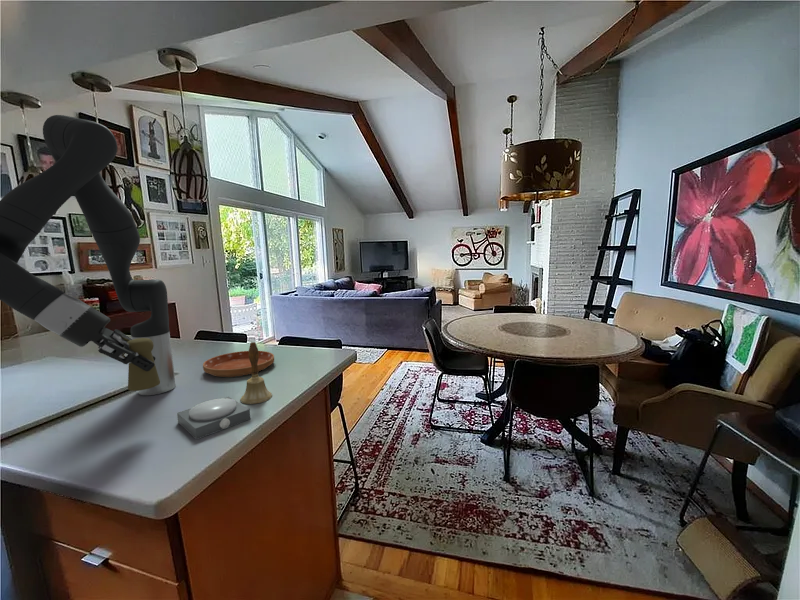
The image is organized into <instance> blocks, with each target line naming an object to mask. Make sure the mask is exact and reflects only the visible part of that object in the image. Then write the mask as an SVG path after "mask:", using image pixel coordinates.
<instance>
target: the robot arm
mask: <svg viewBox="0 0 800 600" xmlns="http://www.w3.org/2000/svg"><path fill="white" fill-rule="evenodd" d="M42 136H43V140H44V142H45V145H46V147H47V150H49V153H50V155H51V156H52V158H53V159H54V161H55V162H54V164H52V165H51V166H50V167H48V168H46V170H44V171H43V172H41V173H39V174H37V175H36V176H33V177H32V178H30V179H28V180H26V181H24V182H22V183H20V184H19V185H17V186H16V187H14V188H12V189H11V190H9V191H8V193H6V194H5V195H4V196H3V197H2V198H1V199H0V301H1V302H3V303H4V304H5V305H7V306H8V307H10V308H11V309H12V310H14V311H16V312H18V313H20V314H22V315H24V316H26V317H28V318H29V319H30V320H32V321H35V322H36V323H38V324H39V325H41V326H42V327H43V328H45V329H46V330H48V331H50V332H52V333H54V334H56V335H57V336H60V337H61V338H63V339H65V340H67V341H69V342H71V343H72V344H74V345H76V346H78V347H80V348H83V347H85V346H87V345H88V343H90V342H93V343H94V344H95V345H97V346H98V347H97V348H98V350H97V351H98V353H100V354H102V355H105V356H107V357H109V358H111V359H113V360H116V361H118V362H120V363H122V364H123V365H129V364H131V363H132V364H134V365H136V366H138V367H139V368H141V369H143V370H145V371H150V370H151V369H152V368H153V367H154V365H155V366H156V369H157V372H158V376H159V379H160V384H159V385H157V386H155V387H152V388H149V389H145V390H139V391H137V392H138V395H140V396H153V395H159V394H164V393H166V392H170V391H172V390H173V389H175V388H176V375H175V367H174V360H173V351H172V343H171V335H170V334H171V332H170V317H169V307H168V306H169V304H168V303H169V302H168V301H169V300H168V290H167V286H166V284H165V283H164V281H163V280H162V279H133V277H132V275H131V270H130V267H131V264H132V261H133V260H134V257H135V256H136V253H137V251H138V248H139V246H140V242H141V236H140V233H139V229H138V227H137V225H136V224H137V223H136V221H135V220H134V219H135V218H134V217H133V214H132V212H130V210H129V209H128V207H127V206H126V205H125V204H124V202H123V201H122V200H121V199H120V198H119V197H118V195H117V194H116V193H115V192H114V191H113V190H112V189H111V188H110V186H109V185H108V184H107V182H106V181H105V180H104V178H103V176H102V174H101V172H102V171H103V170H104V169H105V168H107V167H108V166H109V165H110V164H111V163H112V162H113V160H114V159H115V157H116V156H117V153H118V143H117V140H116V137H115V135H114V134H113V132H112V131H111V130H110V129H109V128H108V127H107V126H105V125H103V124H101V123H98V122H96V121H92V120H88V119H85V118H84V119H83V118H80V117H79V118H78V117H74V116H70V115H69V116H68V115H64V114H63V115H62V114H54V115H50V116H49V117H47V118H46V120H45V121H44V123H43V126H42ZM72 196H74V198H75V199H76V201H77V204H78V206H79V207H80V210H81V213H82V214H83V217H84V219H85V221H86V224H87V226H88V229H89V230H90V233H91V235H92V237H93V239H94V242H95V244H96V245H97V247H98V249H99V251H100V253H101V256H102V258H103V260H104V262H105V265H106V268H107V270H108V272H109V275H110V279H111V281H112V285H113V287H114V290H115V294H116V296H117V299H118V302H119V304H120V305H121V307H122V308H123V310H125V311H126V312H128V313H129V312H130V313H134V312H135V313H138V312H139V313H140V312H141V313H142V312H150V313H151V314H150V317H148V319H146V320H144V321H142V322H138V323H135V324H134V325H132V326H131V327H130V336H128V335H127V334H125V333H123V332H122V331H121V330H120V329H114V330H111V329H110V328H107V327H106V326H107V325H109V323H110V322H111V318H110V317H109V316H107V315H105V313H102V312H101V311H98V310H97V309H95V308H94V307H92V306H90V305H89V304H88V303H85V302H84V301H83V300H80V299H79V298H76V297H75V296H72V295H70V294H68V293H67V292H65V291H63V290H61V289H59V288H57V286H56V285H53V284H52V283H49V282H48V281H46V280H45V279H44V280H43V279H42V278H40V277H38V276H36V275H34V274H32V273H31V272H30V271H29V270H27V269H25V268H24V267H23V266H22V265H20V264H18V262H19V261H20V259H21V257H22V256H23V255H24V253H25V251H26V249H27V247H28V246H29V244H31V243H32V242H33V240H34V239H35V238H36V237H38V235H39V234H40V233H41V231H42V230H43V229H44V227H45V226H46V225H47V223H48V222H49V221H50V219H52V217H53V216H54V215H55V214H56V213H57V211H59V209H60V208H61V207H62V206H63V205H64V204H65V203H66V202H67V201H68V200H69V199H70V198H71V197H72ZM137 338H149V339H151V340H152V341H153V345H154V346H153V350H152V351H151V352H152V356H153V359H154V362H155V363H154V362H152V361H151V360H149V359H147V358H145V357H144V356H142V355H140V354H139V353H138V352H135V351H134V350H132V349H131V345H130V344H129V343H127V342H128V341H130V340H133V339H137ZM125 354H126V356H125Z"/></svg>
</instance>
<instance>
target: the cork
mask: <svg viewBox="0 0 800 600" xmlns="http://www.w3.org/2000/svg"><path fill="white" fill-rule="evenodd" d="M127 343H129V344H130V345H131V349H132V350H134V351H135V352H138V353H139V354H140V355H142V356H144V357H145V358H147V359H149V360H151V361H152V362H154V359H153V356H152V352H151V351H152V350H153V346H154V345H153V341H152V340H151V339H149V338H137V339H133V340H130V341H128V342H127ZM154 363H155V362H154ZM127 372H128V373H127V374H128V375H127V378H128V379H127V380H128V382H127V390H128V391H130V392H132V391H133V392H136V391H137V392H138V391H139V390H145V389H149V388H152V387H155V386H157V385H159V384H160V379H159V376H158V372H157V369H156V366H155V365H154V367H153V368H152V369H151V370H150V371H145V370H143V369H141V368H139V367H138V366H136V365H134V364H132V363H131V364H129V363H128V371H127Z"/></svg>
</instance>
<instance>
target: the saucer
mask: <svg viewBox="0 0 800 600" xmlns="http://www.w3.org/2000/svg"><path fill="white" fill-rule="evenodd" d="M258 351H259V359H258V364H257V366H258V373H259V372H261V370H262V371H263V370H265V368H266V369H267V368H268V367H269V366H271V365H273V363H274V362H275V354H273V353H272V352H270V351H265V350H258ZM202 369H203V370H202V371H203V372H204V373H207V374H210V375H211V376H213V377H220V378H234V377H236V376H237V377H243V375H244V376H249V375H252V366H251V362H250V360H249V350H244V351H243V350H241V351H234V352H229V353H223V354H219V355H217V356H213V357H211V358H208V359H206V360H205V361H204V362H203V364H202ZM248 374H249V375H248Z"/></svg>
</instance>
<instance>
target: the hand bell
mask: <svg viewBox="0 0 800 600" xmlns="http://www.w3.org/2000/svg"><path fill="white" fill-rule="evenodd" d="M249 344H250V345H249V348H248V351H249V360H250V362H251V366H252V374H251V377H250V378H248V379H247V380H246V386H245V390H244V391H245V392H244V394H243V395H242V396H241V398H240V399H239V401H240V403H241V404H243V405H257V404H261V403H264V402H265V403H266V402H267V401H269V400H271V398H272V397H273V394H272V392H271V391H270V390H268V388H267V386H266V383H265V379H264V378H263V376H262V377H261V376H259V372H258V366H257V364H258V359H259V351H260V350H259V348H258V346H257V343H256V342H255V341H251V342H249Z"/></svg>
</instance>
